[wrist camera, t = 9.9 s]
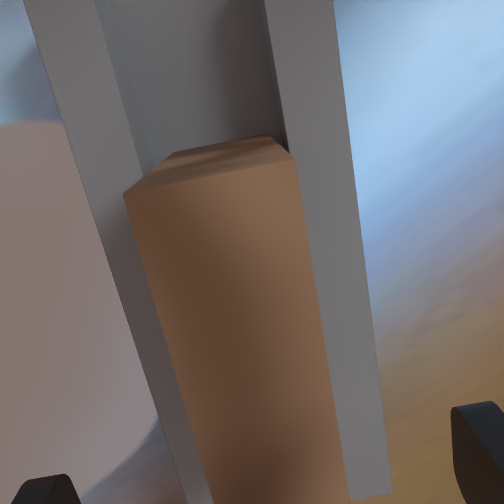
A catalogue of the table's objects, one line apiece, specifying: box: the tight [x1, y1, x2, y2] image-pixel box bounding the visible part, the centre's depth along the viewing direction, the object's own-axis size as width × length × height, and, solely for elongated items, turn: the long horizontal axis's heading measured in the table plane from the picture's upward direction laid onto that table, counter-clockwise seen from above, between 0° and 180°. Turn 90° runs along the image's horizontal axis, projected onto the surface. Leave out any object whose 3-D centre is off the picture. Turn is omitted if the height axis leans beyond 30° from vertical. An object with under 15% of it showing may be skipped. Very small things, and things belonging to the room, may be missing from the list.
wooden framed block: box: [122, 133, 350, 504], centre depth 16 cm, size 4×12×9 cm, turn 11°
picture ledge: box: [23, 0, 393, 504], centre depth 20 cm, size 10×24×4 cm, turn 11°
